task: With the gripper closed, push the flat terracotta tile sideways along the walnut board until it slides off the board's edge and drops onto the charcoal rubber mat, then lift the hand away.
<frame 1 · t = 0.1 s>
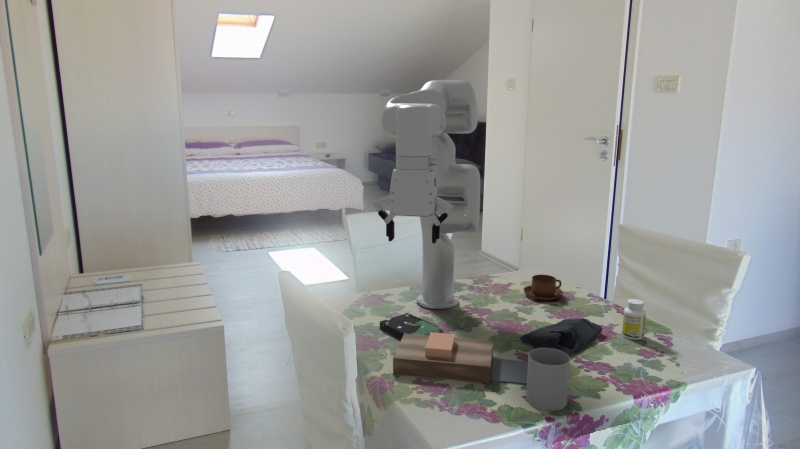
hand: (412, 240, 129), 31 cm above the table, tool pointing down, fingers open, 9 cm apart
dark slate chunk: (563, 340, 154), on the table
cup: (546, 401, 123), on the table
board: (444, 364, 139), on the table
supplement bottle: (632, 337, 155), on the table
cup and saucer: (542, 297, 185), on the table
disk drive: (411, 334, 157), on the table
mat: (518, 372, 135), on the table
tile: (440, 348, 138), point 4 cm above the table, touching board
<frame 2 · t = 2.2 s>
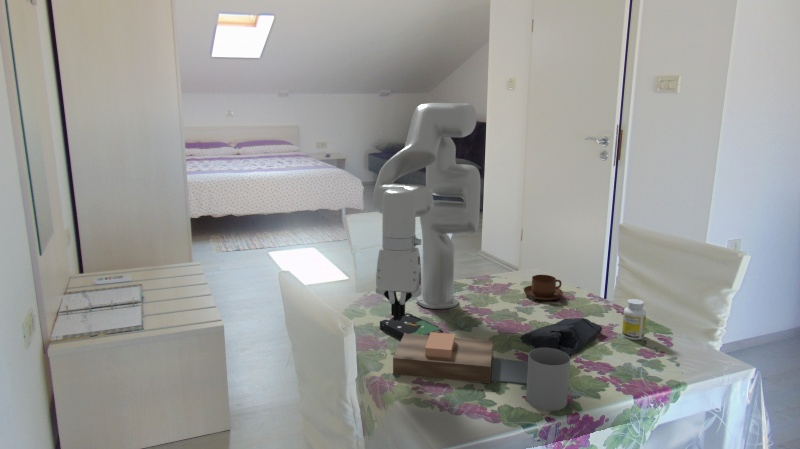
hand: (398, 318, 138), 11 cm above the table, tool pointing down, fingers closed
nothing on the table moved.
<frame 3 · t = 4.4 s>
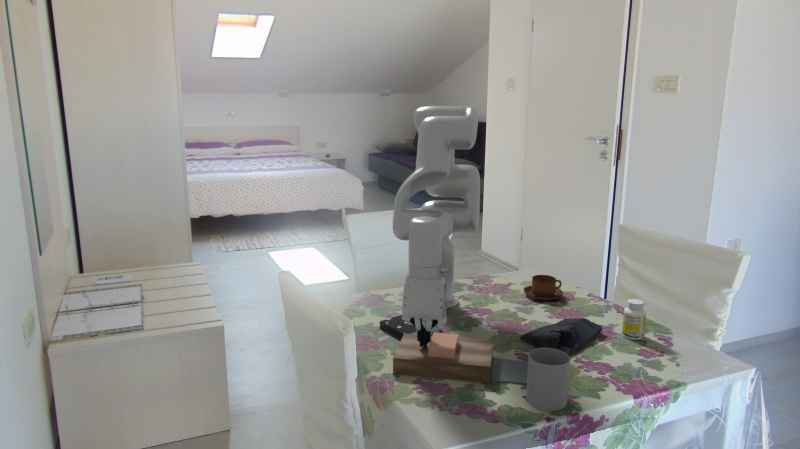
hand: (423, 344, 139), 5 cm above the table, tool pointing down, fingers closed
tile: (443, 348, 138), point 4 cm above the table
everything else where it was.
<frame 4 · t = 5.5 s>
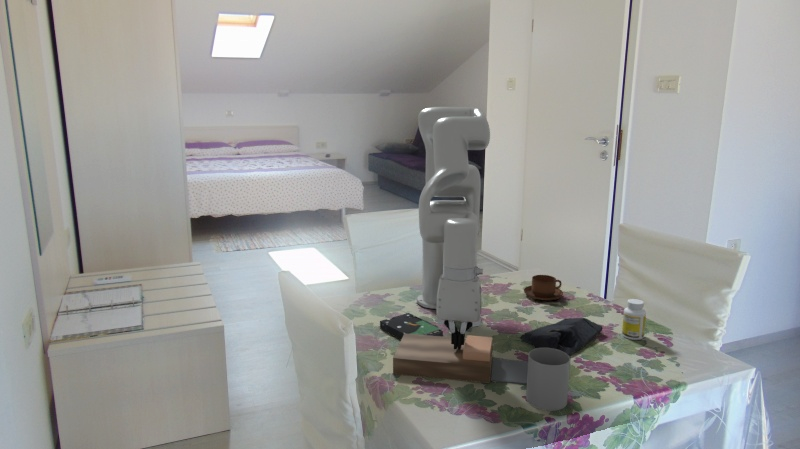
hand: (457, 347, 137), 5 cm above the table, tool pointing down, fingers closed
tile: (477, 352, 136), point 4 cm above the table
everything else where it was.
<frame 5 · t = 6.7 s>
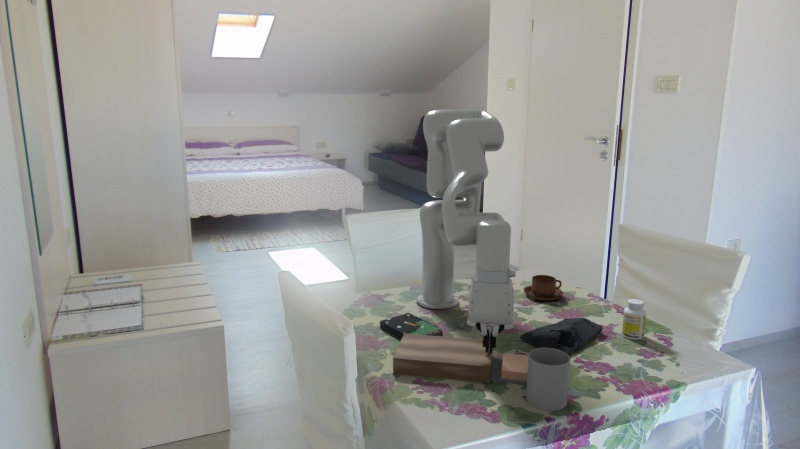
hand: (489, 349, 136), 5 cm above the table, tool pointing down, fingers closed
tile: (515, 362, 135), point 2 cm above the table, tilted 180°, touching mat
everything else where it was.
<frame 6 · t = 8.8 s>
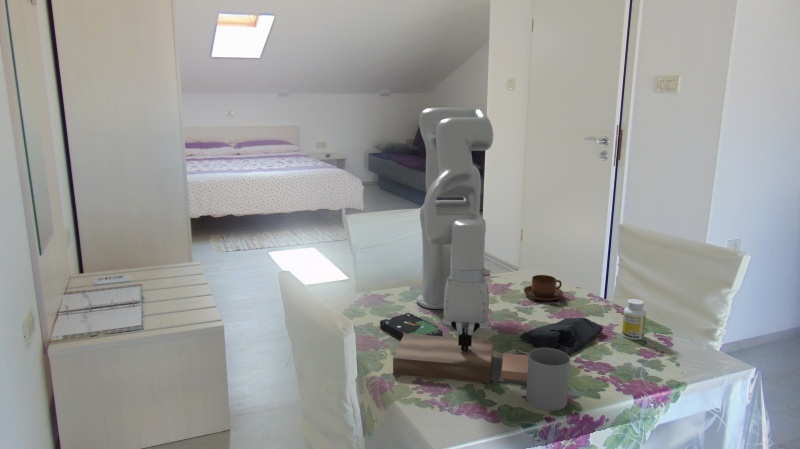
hand: (464, 348, 137), 5 cm above the table, tool pointing down, fingers closed
nothing on the table moved.
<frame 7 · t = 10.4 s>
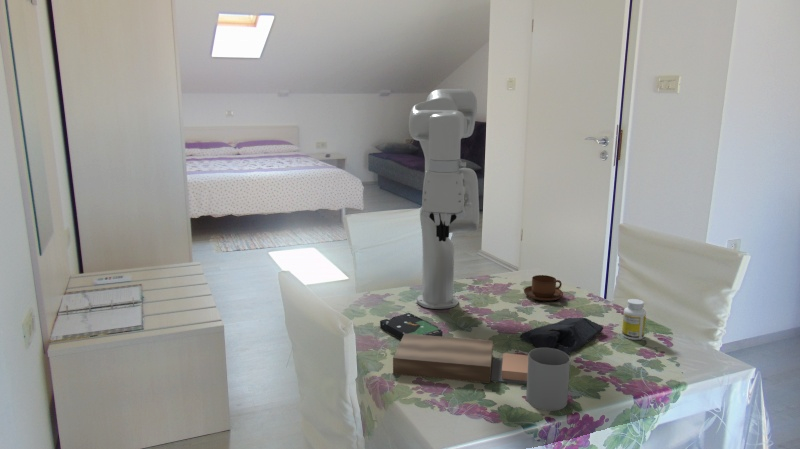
hand: (442, 239, 144), 28 cm above the table, tool pointing down, fingers closed
nothing on the table moved.
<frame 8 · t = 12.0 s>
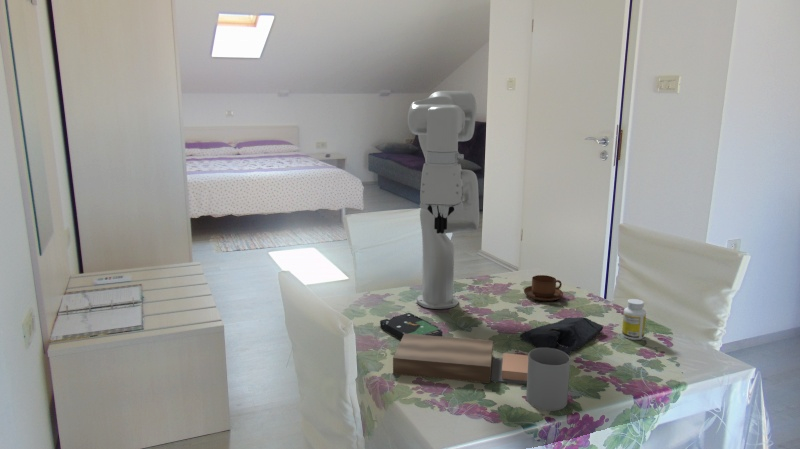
hand: (440, 232, 145), 29 cm above the table, tool pointing down, fingers closed
at the end: tile point 2.3 cm above the table; tile inside the target area on the mat (0.6 cm from its centre), point 2.3 cm above the mat's base; tile touching mat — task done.
